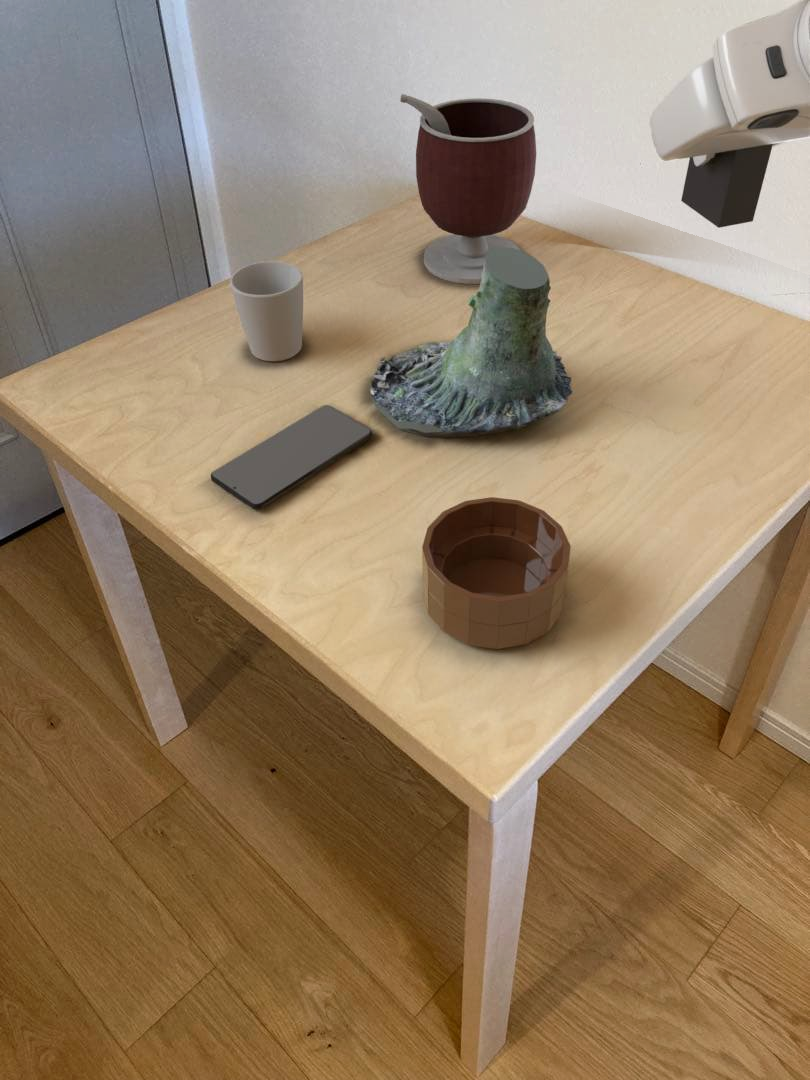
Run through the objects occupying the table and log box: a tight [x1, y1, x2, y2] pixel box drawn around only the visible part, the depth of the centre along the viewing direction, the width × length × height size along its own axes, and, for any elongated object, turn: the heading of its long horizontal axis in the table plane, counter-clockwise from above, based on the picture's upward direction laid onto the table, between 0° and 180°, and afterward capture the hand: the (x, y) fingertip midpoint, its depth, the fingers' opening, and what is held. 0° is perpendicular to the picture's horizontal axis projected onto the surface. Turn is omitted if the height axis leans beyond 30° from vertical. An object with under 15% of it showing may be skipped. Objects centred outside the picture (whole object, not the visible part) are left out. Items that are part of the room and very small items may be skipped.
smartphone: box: [210, 404, 373, 511], centre depth 85 cm, size 7×1×15 cm
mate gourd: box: [399, 93, 537, 285], centre depth 105 cm, size 16×14×20 cm
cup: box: [229, 260, 304, 362], centre depth 97 cm, size 8×10×8 cm
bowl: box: [421, 496, 572, 650], centre depth 70 cm, size 11×11×6 cm
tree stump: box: [369, 247, 573, 438], centre depth 87 cm, size 18×20×18 cm
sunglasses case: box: [680, 144, 773, 229], centre depth 77 cm, size 4×6×9 cm, turn 19°
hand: (724, 153), depth 77 cm, fingers closed on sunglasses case, 3 cm apart
